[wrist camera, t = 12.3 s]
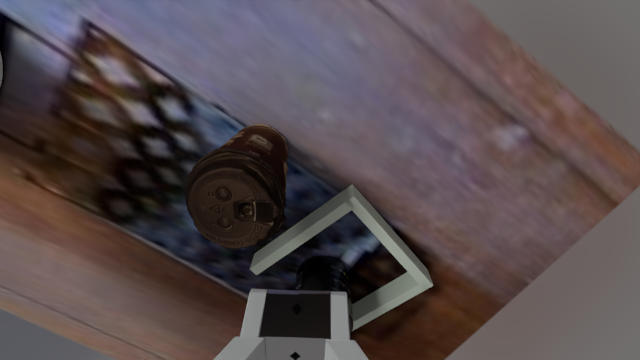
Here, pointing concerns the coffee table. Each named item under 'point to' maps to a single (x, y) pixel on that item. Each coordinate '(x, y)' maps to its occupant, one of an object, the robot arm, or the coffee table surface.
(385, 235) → the pale u-shaped frame
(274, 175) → the coffee cup
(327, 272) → the supplement bottle
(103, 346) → the coffee table surface
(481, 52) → the coffee table surface
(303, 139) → the coffee table surface
